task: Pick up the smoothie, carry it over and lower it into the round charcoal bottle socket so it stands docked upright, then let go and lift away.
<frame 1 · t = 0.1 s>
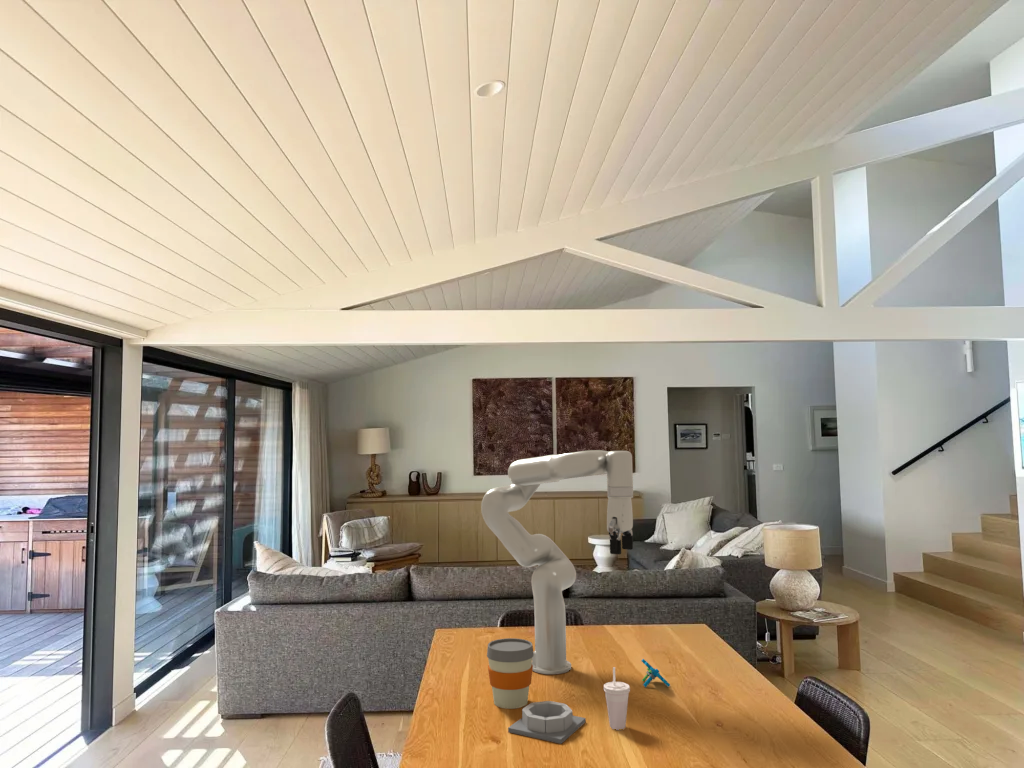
hand: (621, 551, 205), 37 cm above the table, tool pointing down, fingers open, 9 cm apart
bottle socket: (547, 727, 170), on the table
reusable coffee cup: (510, 703, 186), on the table
gear: (655, 686, 198), on the table
smoothie: (617, 727, 169), on the table
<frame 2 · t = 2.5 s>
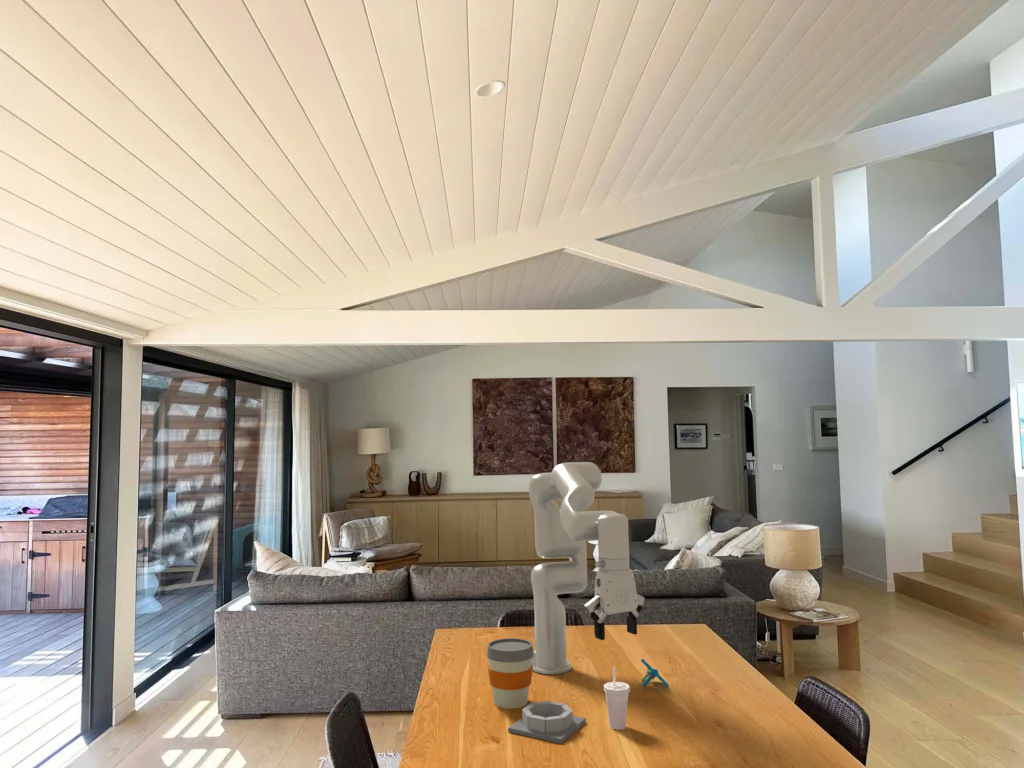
hand: (616, 636, 171), 22 cm above the table, tool pointing down, fingers open, 9 cm apart
nothing on the table moved.
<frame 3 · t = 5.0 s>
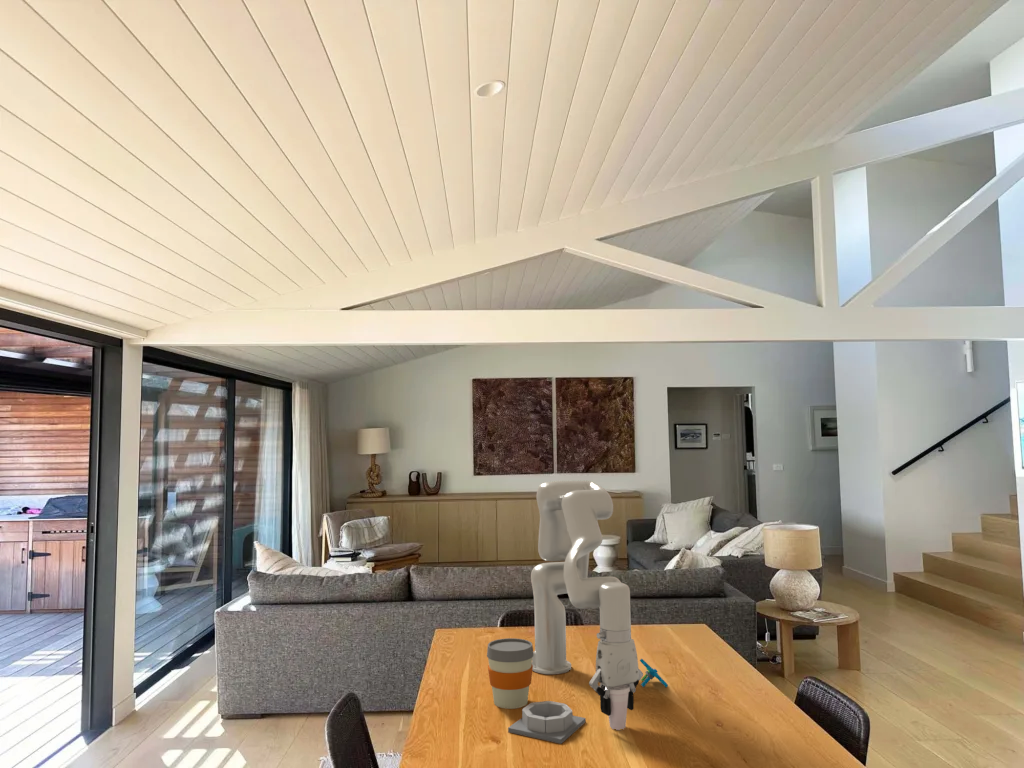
hand: (617, 710, 170), 4 cm above the table, tool pointing down, fingers closed on smoothie, 6 cm apart
smoothie: (617, 727, 169), on the table, touching gripper
everything else where it was.
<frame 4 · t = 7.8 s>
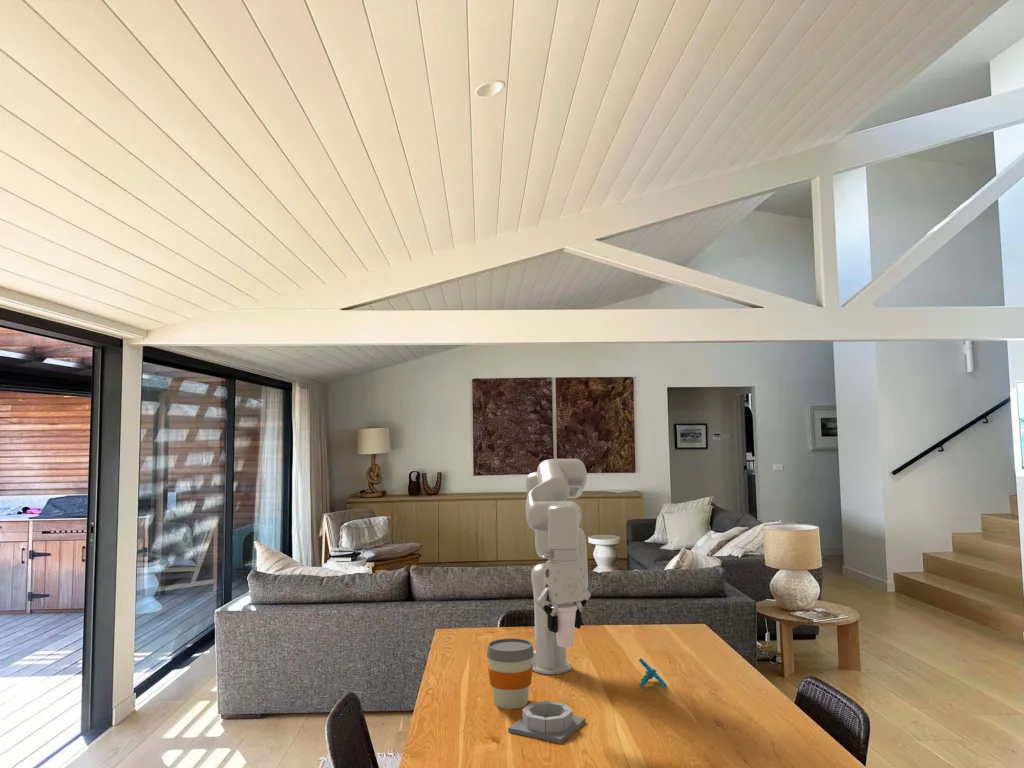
hand: (564, 628, 172), 23 cm above the table, tool pointing down, fingers closed on smoothie, 6 cm apart
smoothie: (565, 645, 172), point 19 cm above the table, touching gripper
everything else where it was.
when the fingers open (6 cm above the table, at t = 10.9 s): smoothie drops 1 cm, resting on bottle socket.
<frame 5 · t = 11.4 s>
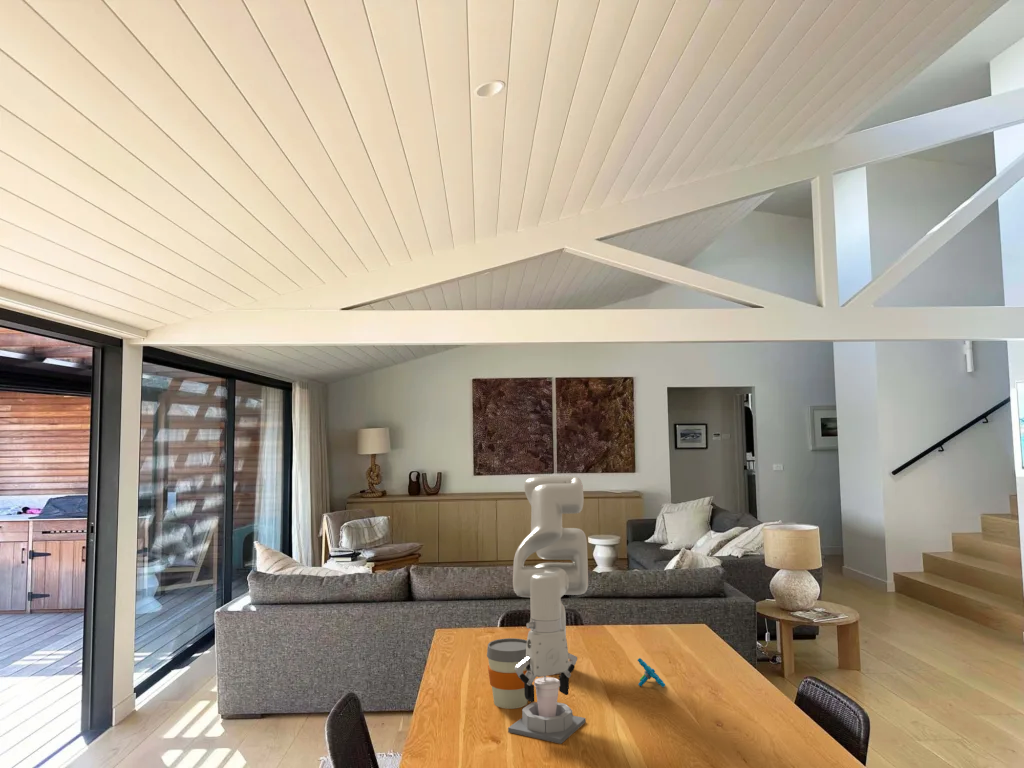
hand: (547, 696, 171), 7 cm above the table, tool pointing down, fingers open, 9 cm apart
smoothie: (547, 723, 170), point 1 cm above the table, touching bottle socket
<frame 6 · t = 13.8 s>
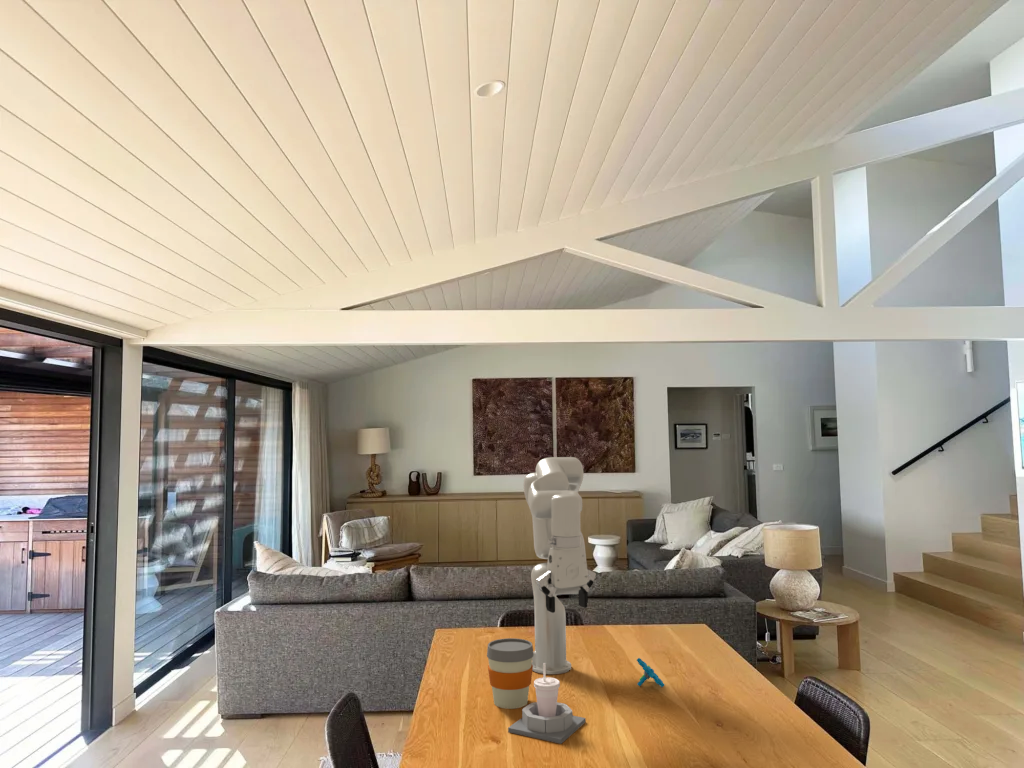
hand: (567, 608, 181), 26 cm above the table, tool pointing down, fingers open, 9 cm apart
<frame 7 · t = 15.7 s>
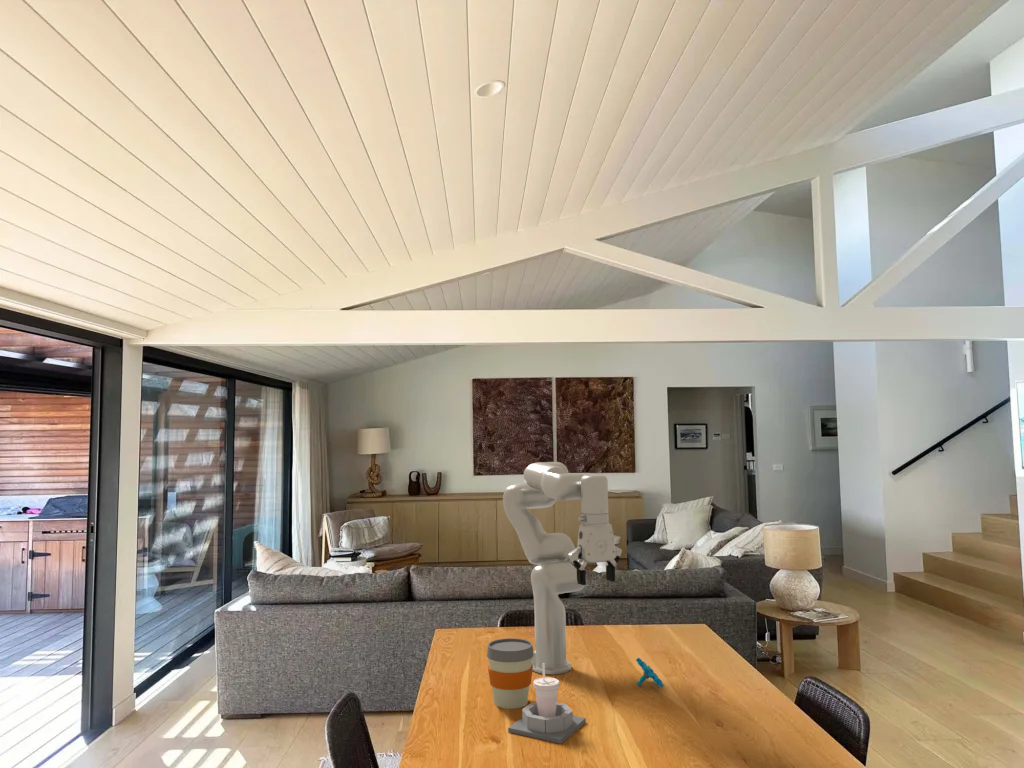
hand: (596, 582, 193), 30 cm above the table, tool pointing down, fingers open, 9 cm apart
at the end: smoothie 0.2 cm off-centre on the bottle socket, point 0.8 cm above the bottle socket's base; smoothie tilted 1°; the gripper is holding nothing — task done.
